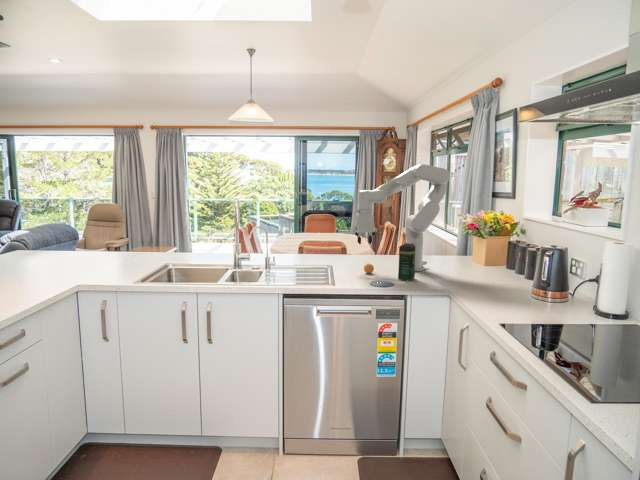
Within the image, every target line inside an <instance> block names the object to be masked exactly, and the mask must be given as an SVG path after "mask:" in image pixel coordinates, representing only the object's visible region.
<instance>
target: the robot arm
mask: <svg viewBox="0 0 640 480" xmlns="http://www.w3.org/2000/svg"><path fill="white" fill-rule="evenodd" d="M450 180H451V173H450V171H449V170H448V169H446V168H443V167H438V166H433V165H430V164H424V163H421V164H420V163H419V164H416V165H413V166H412V167H410V168H409V169H408V170H405V171H403V172H402V173H400V174H399V175H398V176H395V177H394V178H392V179H390V180H389V181H387V182H384V184H381V185H380V186H379V187H377V188H375V189H373V190H370V189H361V190H359V191H358V209H357V210H355V212H356V213H357V215H356V218H355V219H356V220H355V226H354V227H353V228H352V230H351V232H352V233H353V234H355V236H356V237H357V243H358V244H359V245H361V244H362V237H361V234H362V233H368V235H369V236H368V244H370V245H371V244H372V242H373V237H374V235H375V234H377V233H378V228H377V227H376V226H375V216H374V214H373V213H372V212H373V203H375V204H382V203H384V202H385V201H386V200H387V198H388V197H390V196H393V194H395V193H398V192H402V191H404V190H406V189H408V188H409V187H411V186H414V185H415V184H416V183H418V182H420V181H427V182H430V184H431V185H430V189H429V191H428V192H427V193H426V195H425V196H424V197H423V199H422V200H421V201H420V203H418V206H417V210H418V212H417V213H416V214H411V215H409V216H408V217H407V218H406V220H405V222H404V223H405V226H404V227H405V244H406V243H408V244H413V245H415V272H422V271H425V269H426V267H425V266H426V265H427V264H428V262H427V261H426V260H425V261H423V250H424V249H423V247H424V246H423V245H424V234H423V233H424V232H426V230H427V229H428V228H429V227H430V226H431V225H432V223H433V222H434V221H435V219H436V218H437V217H438V215H439V213H440V211H441V210H440V208H441V207H440V205H439V204H440V202H441V201H442V199H444V196H445V195H446V192H447V183H449V181H450Z"/></svg>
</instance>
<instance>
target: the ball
mask: <svg viewBox="0 0 640 480" xmlns="http://www.w3.org/2000/svg"><path fill="white" fill-rule="evenodd" d="M374 268H375V267H374V265H373V264H372V263H366V264H365V265H364V267H363V270H364V272H365V273H366V274H371V273H373V272H374V270H375V269H374Z"/></svg>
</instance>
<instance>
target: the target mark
mask: <svg viewBox="0 0 640 480" xmlns="http://www.w3.org/2000/svg"><path fill="white" fill-rule="evenodd" d="M377 282H378V283H377ZM380 282H381V283H380ZM369 285H370V286H372V287H376V286H377V287H376V288H390V287H393V286H395V283H394V282H392V281H386V280H375V281H370V282H369Z"/></svg>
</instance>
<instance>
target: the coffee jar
mask: <svg viewBox="0 0 640 480" xmlns="http://www.w3.org/2000/svg"><path fill="white" fill-rule="evenodd" d="M415 273H416V271H415V245H413V244H408V243H406V242H405V244H402V245H400V246H399V247H398V274H397V278H398V280H401V281H413V280H414V279H415Z"/></svg>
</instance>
